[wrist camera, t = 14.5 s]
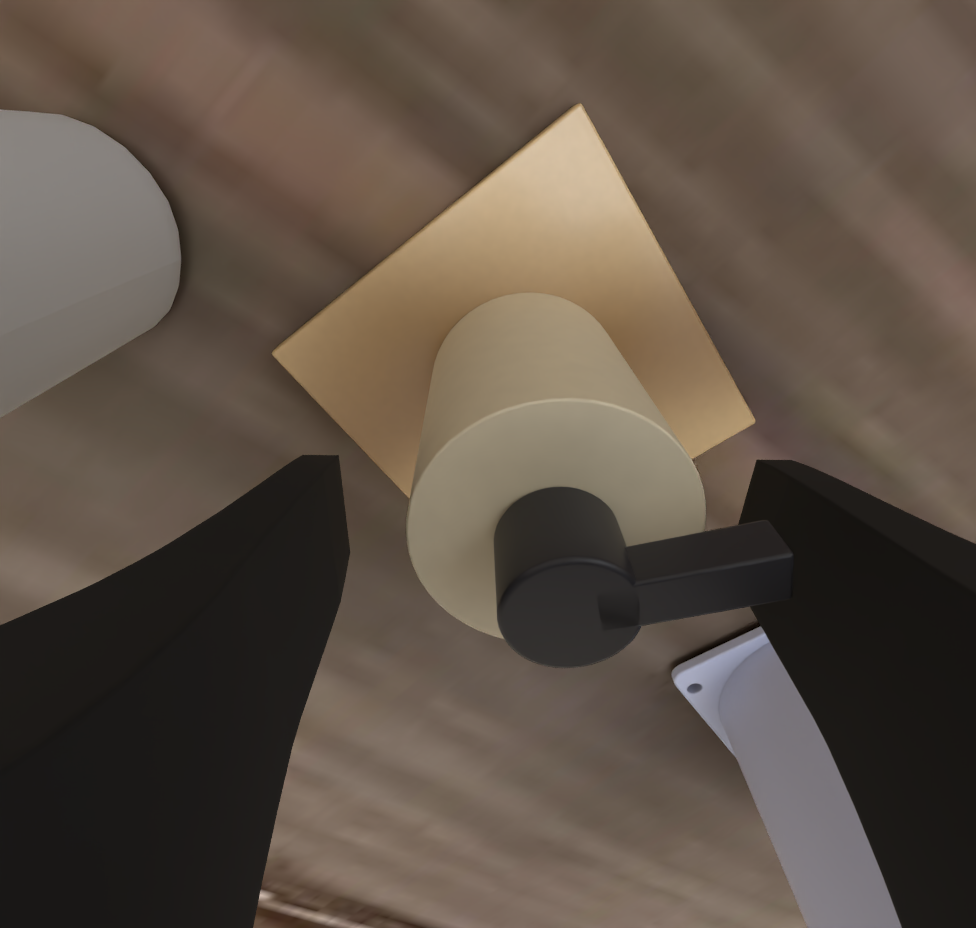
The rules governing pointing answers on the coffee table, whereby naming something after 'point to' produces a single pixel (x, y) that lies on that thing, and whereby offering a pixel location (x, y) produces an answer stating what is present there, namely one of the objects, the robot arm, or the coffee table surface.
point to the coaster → (509, 270)
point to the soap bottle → (566, 494)
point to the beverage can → (75, 251)
